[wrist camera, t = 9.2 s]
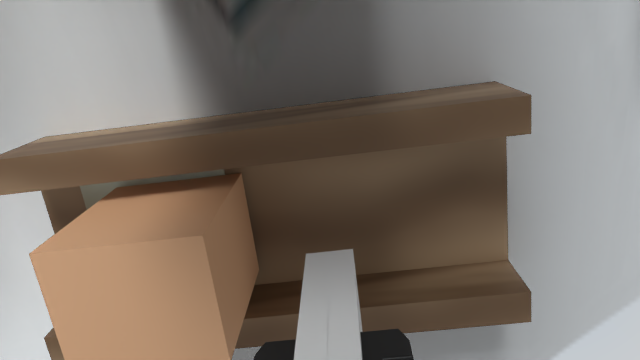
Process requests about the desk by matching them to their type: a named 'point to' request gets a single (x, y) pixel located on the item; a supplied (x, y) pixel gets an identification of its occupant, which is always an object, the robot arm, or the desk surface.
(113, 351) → the block
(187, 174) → the chute
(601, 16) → the desk surface
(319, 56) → the desk surface
